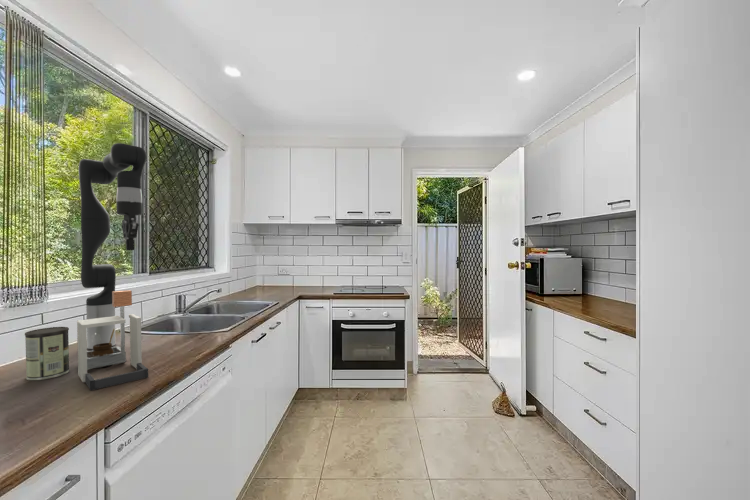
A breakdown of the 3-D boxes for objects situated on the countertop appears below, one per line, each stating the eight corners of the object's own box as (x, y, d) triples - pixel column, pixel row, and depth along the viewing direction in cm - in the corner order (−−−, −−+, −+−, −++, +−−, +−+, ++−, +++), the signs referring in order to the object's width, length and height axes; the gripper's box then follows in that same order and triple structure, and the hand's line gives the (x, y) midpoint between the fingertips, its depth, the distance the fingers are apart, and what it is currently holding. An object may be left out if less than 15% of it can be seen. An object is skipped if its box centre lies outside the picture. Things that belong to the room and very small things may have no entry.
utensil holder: (94, 364, 124) (93, 329, 124) (116, 361, 127) (115, 327, 126) (89, 369, 118) (89, 332, 118) (112, 366, 121) (112, 330, 121)
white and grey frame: (77, 374, 114) (77, 320, 113) (133, 363, 124) (133, 313, 124) (83, 382, 107) (82, 325, 106) (141, 369, 117) (141, 317, 117)
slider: (80, 362, 124) (78, 291, 123) (124, 354, 133) (123, 288, 133) (85, 370, 115) (84, 294, 115) (132, 361, 124) (131, 290, 124)
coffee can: (49, 368, 119) (48, 326, 119) (78, 369, 118) (77, 326, 118) (15, 380, 109) (14, 333, 109) (46, 381, 108) (45, 334, 108)
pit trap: (85, 382, 107) (85, 374, 107) (140, 370, 117) (140, 362, 117) (90, 390, 100) (90, 381, 100) (148, 377, 111) (148, 369, 110)
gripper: (112, 202, 130) (113, 250, 130) (121, 198, 120) (121, 250, 121) (137, 204, 135) (137, 250, 135) (147, 200, 126) (147, 250, 126)
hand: (130, 250), depth 128 cm, fingers closed
